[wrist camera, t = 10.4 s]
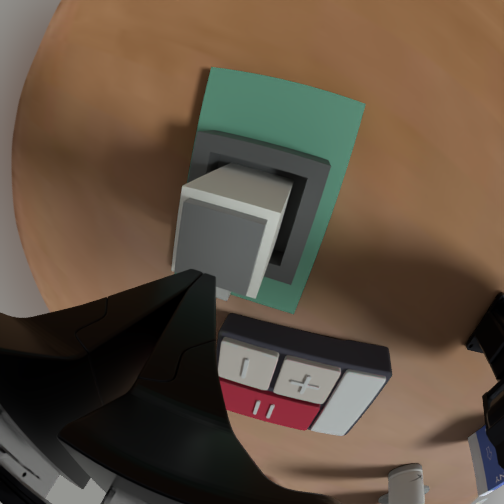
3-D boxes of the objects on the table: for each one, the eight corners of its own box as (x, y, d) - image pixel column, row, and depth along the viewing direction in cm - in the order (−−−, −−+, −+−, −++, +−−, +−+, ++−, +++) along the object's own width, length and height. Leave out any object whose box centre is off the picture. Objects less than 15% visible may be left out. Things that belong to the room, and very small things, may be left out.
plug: (294, 180, 17) (278, 218, 10) (274, 246, 19) (249, 317, 12) (230, 162, 17) (175, 188, 10) (216, 229, 19) (164, 287, 12)
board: (362, 105, 16) (375, 99, 12) (294, 306, 23) (289, 339, 19) (216, 69, 17) (193, 58, 13) (179, 269, 24) (157, 294, 20)
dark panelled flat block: (214, 335, 22) (395, 380, 19) (231, 305, 25) (390, 345, 23) (207, 407, 27) (344, 442, 24) (221, 379, 30) (347, 411, 28)
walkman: (503, 410, 24) (521, 472, 13) (509, 412, 24) (526, 471, 13) (465, 438, 27) (476, 499, 17) (473, 440, 27) (483, 497, 17)
